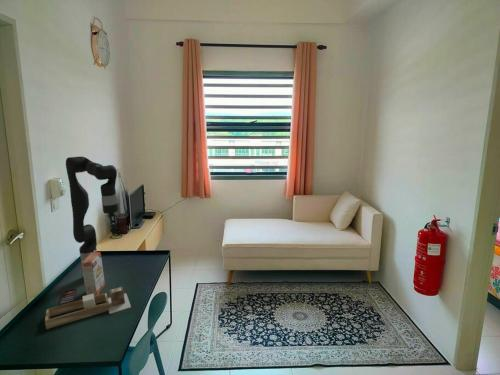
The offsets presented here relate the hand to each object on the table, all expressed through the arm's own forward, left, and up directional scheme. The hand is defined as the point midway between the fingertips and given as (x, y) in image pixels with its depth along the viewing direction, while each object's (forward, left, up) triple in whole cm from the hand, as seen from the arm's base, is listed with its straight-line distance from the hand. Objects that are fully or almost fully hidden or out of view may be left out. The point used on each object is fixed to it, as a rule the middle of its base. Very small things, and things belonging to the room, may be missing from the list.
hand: (113, 232), depth 167 cm
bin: (+11, -22, -35) cm, 42 cm away
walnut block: (+13, -4, -34) cm, 37 cm away
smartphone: (-11, -27, -35) cm, 45 cm away
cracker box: (-8, -13, -35) cm, 38 cm away
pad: (+13, -4, -35) cm, 37 cm away
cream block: (+11, -17, -35) cm, 40 cm away
